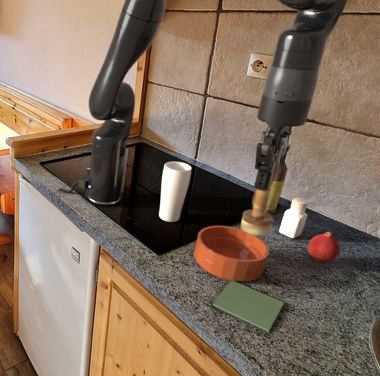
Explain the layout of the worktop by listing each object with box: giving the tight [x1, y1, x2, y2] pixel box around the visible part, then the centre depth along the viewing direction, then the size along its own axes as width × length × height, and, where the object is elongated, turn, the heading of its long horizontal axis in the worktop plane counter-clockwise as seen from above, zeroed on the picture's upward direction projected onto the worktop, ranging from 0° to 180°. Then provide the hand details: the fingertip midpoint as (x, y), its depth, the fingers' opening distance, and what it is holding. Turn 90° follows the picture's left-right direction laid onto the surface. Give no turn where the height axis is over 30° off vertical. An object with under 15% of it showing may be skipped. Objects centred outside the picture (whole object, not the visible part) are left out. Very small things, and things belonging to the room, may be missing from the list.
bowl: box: [193, 225, 270, 282], centre depth 89 cm, size 14×14×6 cm
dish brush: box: [240, 162, 276, 237], centre depth 76 cm, size 5×5×14 cm
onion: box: [307, 231, 341, 264], centre depth 90 cm, size 6×6×8 cm
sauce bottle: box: [251, 143, 291, 215], centre depth 109 cm, size 6×6×20 cm
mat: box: [212, 280, 285, 333], centre depth 78 cm, size 10×10×1 cm
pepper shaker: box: [278, 197, 309, 239], centre depth 100 cm, size 4×4×10 cm
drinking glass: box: [158, 161, 192, 223], centre depth 105 cm, size 7×7×15 cm
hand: (262, 186), depth 76 cm, fingers closed on dish brush
